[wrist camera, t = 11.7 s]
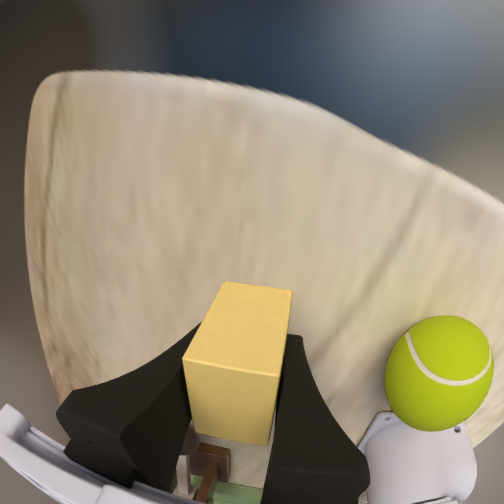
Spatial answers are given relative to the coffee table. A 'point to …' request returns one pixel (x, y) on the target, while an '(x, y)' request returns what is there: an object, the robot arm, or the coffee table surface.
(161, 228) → the coffee table surface
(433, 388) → the tennis ball
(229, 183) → the coffee table surface
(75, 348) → the coffee table surface
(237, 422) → the block
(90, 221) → the coffee table surface
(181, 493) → the lever
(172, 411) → the robot arm
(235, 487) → the butter dish
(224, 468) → the brown lever mount bracket
